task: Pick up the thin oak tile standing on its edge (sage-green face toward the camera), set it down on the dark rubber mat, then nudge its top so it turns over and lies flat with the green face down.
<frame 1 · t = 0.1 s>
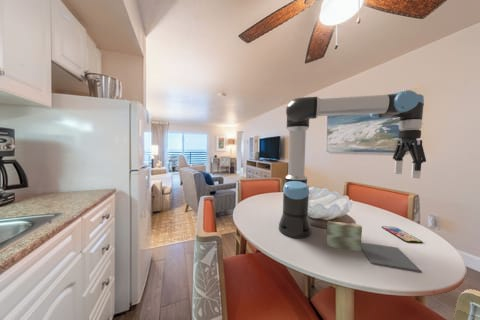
hand: (406, 175, 83), 28 cm above the table, fingers open, 13 cm apart
mat: (385, 255, 67), on the table
tile: (342, 247, 73), on the table
smartphone: (400, 235, 84), on the table
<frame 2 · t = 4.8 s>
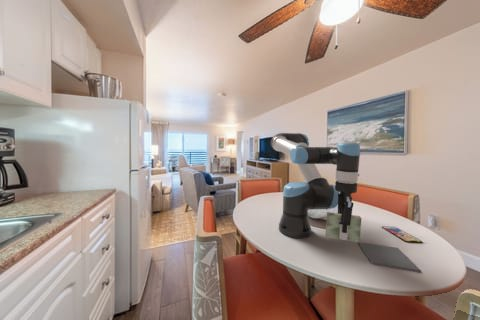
hand: (342, 237, 73), 4 cm above the table, fingers closed on tile, 2 cm apart
tile: (341, 238, 73), point 3 cm above the table, touching gripper
everything else where it was.
when the fingers open (2 cm above the table, at t = 8.3 s): tile stays where it is, resting on mat.
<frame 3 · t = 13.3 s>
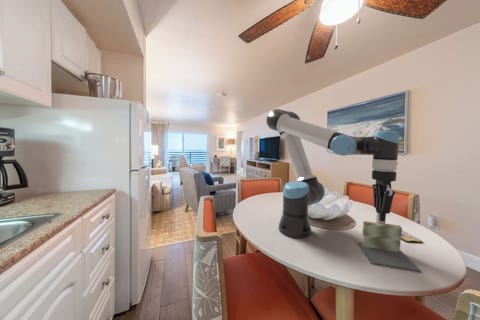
hand: (380, 227, 72), 8 cm above the table, fingers closed
tile: (379, 247, 71), point 1 cm above the table, touching gripper, mat
everything else where it was.
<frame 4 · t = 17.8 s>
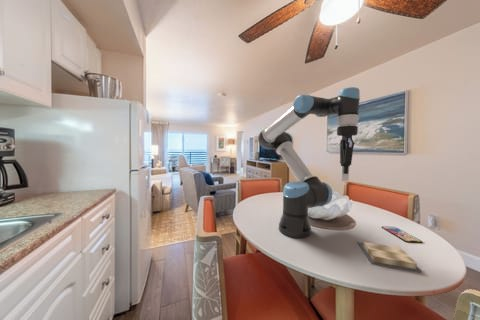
hand: (344, 180, 77), 26 cm above the table, fingers closed
tile: (381, 247, 70), point 2 cm above the table, tilted 90°, touching mat
everything else where it was.
at the end: tile tilted 90°; tile inside the target area on the mat (3.3 cm from its centre), point 1.6 cm above the mat's base; the gripper is holding nothing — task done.
